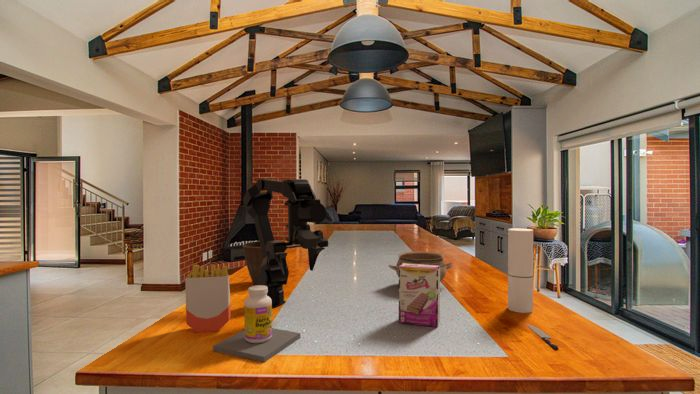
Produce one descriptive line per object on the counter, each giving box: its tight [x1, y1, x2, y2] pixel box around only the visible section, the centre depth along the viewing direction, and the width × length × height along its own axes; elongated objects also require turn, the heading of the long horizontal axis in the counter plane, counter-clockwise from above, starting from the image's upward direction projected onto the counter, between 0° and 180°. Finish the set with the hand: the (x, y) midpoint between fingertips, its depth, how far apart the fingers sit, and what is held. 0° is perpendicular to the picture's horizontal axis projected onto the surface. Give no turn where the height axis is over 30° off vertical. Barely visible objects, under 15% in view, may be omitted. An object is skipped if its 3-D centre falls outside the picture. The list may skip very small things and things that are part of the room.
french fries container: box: [184, 264, 232, 333], centre depth 105 cm, size 5×11×18 cm, turn 99°
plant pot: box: [242, 241, 263, 286], centre depth 154 cm, size 15×15×16 cm
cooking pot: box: [388, 250, 453, 283], centre depth 147 cm, size 25×19×12 cm
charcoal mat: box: [212, 327, 301, 363], centre depth 95 cm, size 15×15×1 cm
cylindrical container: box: [507, 227, 534, 314], centre depth 119 cm, size 7×7×25 cm
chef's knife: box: [525, 323, 559, 351], centre depth 99 cm, size 19×1×3 cm
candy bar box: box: [398, 263, 441, 328], centre depth 108 cm, size 11×5×16 cm, turn 71°
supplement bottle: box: [243, 285, 273, 343], centre depth 95 cm, size 7×7×13 cm
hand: (298, 272), depth 115 cm, fingers open, 9 cm apart
